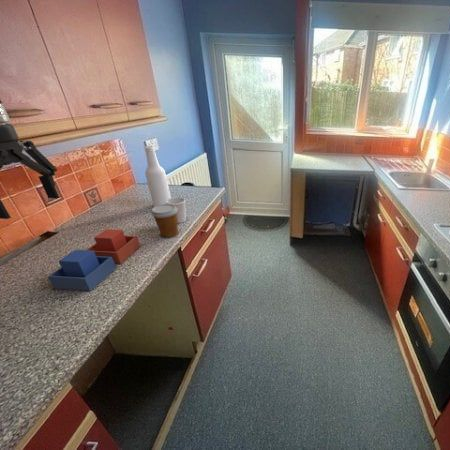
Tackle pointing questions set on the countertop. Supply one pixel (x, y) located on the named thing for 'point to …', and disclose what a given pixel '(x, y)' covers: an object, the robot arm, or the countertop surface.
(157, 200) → the white bottle
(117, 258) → the red bin
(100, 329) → the countertop surface
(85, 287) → the blue bin
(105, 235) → the red block
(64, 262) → the blue block
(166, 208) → the disposable coffee cup
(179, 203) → the dixie cup
